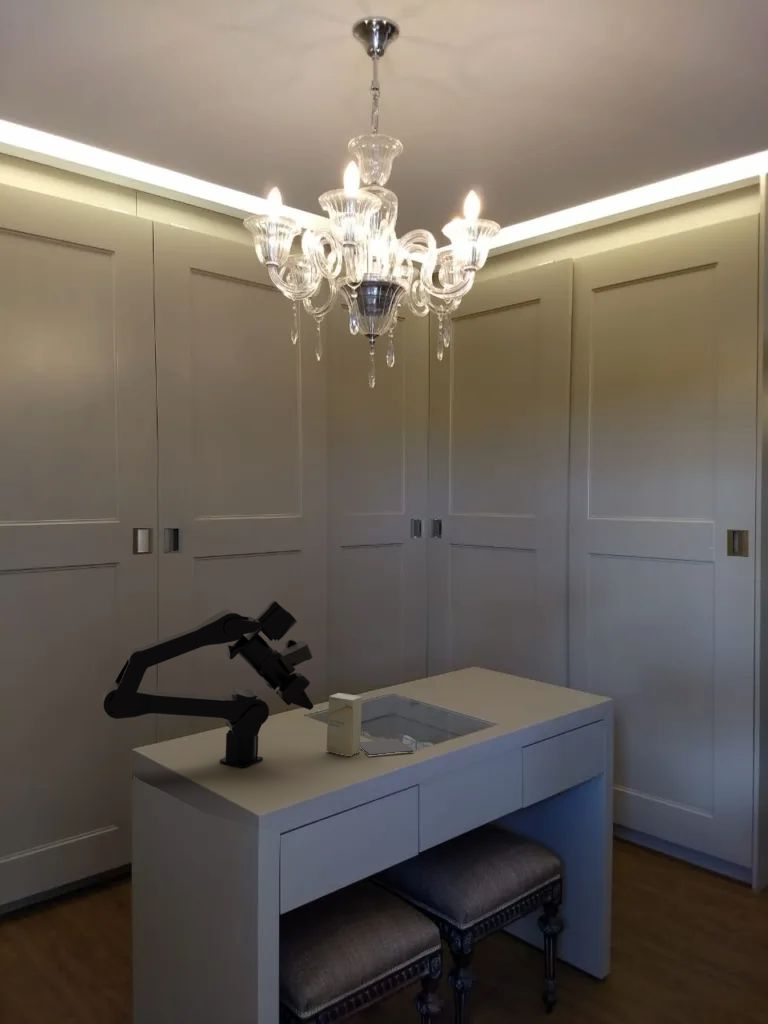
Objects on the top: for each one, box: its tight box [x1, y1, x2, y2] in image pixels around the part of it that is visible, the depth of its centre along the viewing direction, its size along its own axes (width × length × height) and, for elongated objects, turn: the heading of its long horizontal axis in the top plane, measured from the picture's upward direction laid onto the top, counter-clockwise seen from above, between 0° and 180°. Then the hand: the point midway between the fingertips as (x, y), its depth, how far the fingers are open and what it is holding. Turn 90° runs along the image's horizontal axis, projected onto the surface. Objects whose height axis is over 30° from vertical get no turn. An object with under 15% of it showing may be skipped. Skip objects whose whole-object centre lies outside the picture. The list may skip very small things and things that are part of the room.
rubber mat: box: [360, 738, 414, 756], centre depth 169 cm, size 10×9×1 cm
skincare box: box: [325, 692, 363, 757], centre depth 166 cm, size 6×4×12 cm
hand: (311, 708), depth 163 cm, fingers closed
